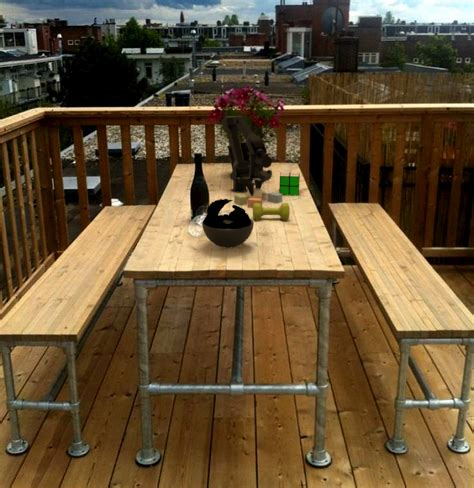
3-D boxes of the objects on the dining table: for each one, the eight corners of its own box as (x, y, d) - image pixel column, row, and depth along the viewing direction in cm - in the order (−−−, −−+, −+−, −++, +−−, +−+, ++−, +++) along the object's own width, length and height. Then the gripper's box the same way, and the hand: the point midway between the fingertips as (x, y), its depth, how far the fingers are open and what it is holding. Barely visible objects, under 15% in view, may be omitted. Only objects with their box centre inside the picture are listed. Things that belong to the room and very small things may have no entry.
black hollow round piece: (204, 237, 257) (203, 193, 251) (253, 238, 257) (254, 193, 251) (200, 254, 239) (199, 207, 232) (253, 255, 238) (253, 207, 232)
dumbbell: (288, 216, 286) (288, 201, 284) (289, 222, 279) (290, 206, 277) (252, 216, 286) (252, 201, 284) (252, 221, 279) (252, 206, 277)
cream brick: (247, 196, 319) (247, 188, 318) (252, 195, 322) (252, 187, 320) (257, 198, 315) (257, 190, 314) (261, 197, 318) (262, 189, 317)
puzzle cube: (299, 190, 330) (299, 172, 327) (298, 195, 321) (299, 176, 318) (279, 190, 331) (280, 171, 328) (279, 195, 322) (279, 176, 318)
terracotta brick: (247, 207, 300) (247, 199, 299) (250, 205, 304) (250, 197, 302) (259, 208, 298) (259, 200, 297) (262, 206, 302) (262, 198, 301)
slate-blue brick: (267, 201, 311) (267, 193, 309) (272, 199, 314) (272, 192, 312) (277, 203, 307) (277, 195, 306) (282, 202, 310) (282, 194, 309)
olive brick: (234, 202, 308) (234, 194, 307) (241, 201, 310) (241, 193, 309) (239, 205, 303) (239, 197, 302) (247, 204, 305) (247, 196, 304)
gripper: (255, 169, 301) (254, 201, 307) (279, 163, 314) (278, 194, 320) (238, 166, 308) (237, 197, 314) (262, 160, 321) (262, 190, 327)
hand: (254, 194), depth 318 cm, fingers closed on cream brick, 4 cm apart
